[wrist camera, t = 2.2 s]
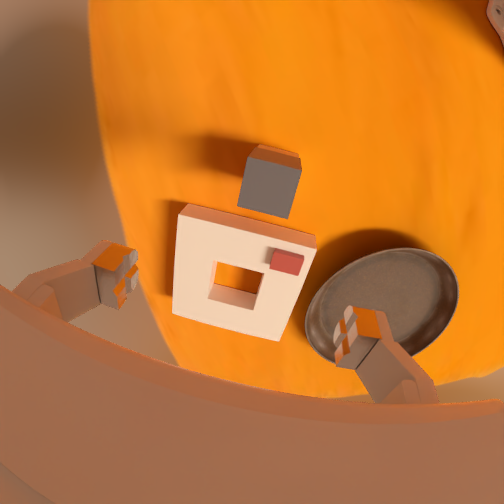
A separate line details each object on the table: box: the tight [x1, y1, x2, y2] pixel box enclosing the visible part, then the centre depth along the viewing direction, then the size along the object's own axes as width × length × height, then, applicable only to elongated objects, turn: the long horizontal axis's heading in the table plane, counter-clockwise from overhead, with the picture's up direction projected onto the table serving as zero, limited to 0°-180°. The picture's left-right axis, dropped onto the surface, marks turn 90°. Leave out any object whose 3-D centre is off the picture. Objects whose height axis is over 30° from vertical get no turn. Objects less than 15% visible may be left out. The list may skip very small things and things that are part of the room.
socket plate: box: [172, 203, 317, 341], centre depth 31 cm, size 14×14×4 cm
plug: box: [237, 144, 302, 219], centre depth 23 cm, size 4×4×7 cm
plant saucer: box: [305, 247, 459, 364], centre depth 32 cm, size 21×21×3 cm
